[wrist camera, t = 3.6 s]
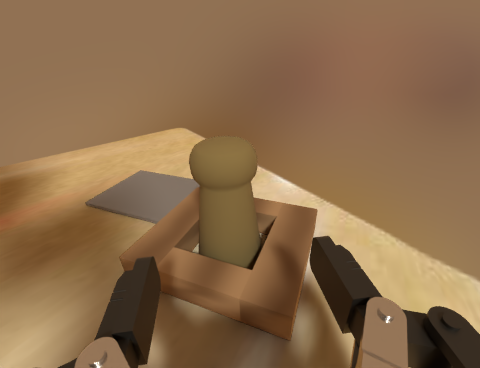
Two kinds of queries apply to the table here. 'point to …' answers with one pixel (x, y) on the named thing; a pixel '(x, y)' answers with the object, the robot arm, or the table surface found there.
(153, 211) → the rubber mat
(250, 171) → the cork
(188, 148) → the table surface
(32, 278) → the table surface
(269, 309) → the socket block
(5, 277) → the table surface
